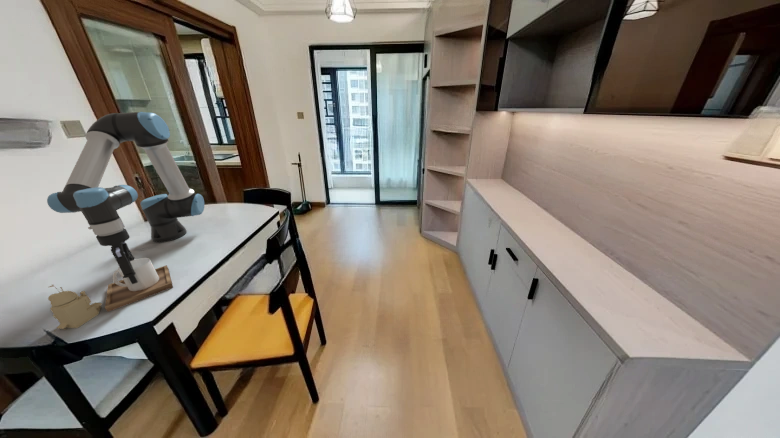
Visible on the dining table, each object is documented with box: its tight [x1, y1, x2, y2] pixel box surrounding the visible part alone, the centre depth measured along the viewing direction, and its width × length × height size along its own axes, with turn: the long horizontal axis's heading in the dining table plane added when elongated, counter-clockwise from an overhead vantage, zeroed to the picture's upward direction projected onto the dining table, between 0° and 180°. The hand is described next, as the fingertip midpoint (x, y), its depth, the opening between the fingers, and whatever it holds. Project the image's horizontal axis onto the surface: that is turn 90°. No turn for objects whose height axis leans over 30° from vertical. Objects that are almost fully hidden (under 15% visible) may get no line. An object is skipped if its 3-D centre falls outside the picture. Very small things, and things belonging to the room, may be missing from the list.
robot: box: [47, 284, 103, 332], centre depth 81 cm, size 10×8×15 cm
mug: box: [112, 257, 159, 291], centre depth 96 cm, size 12×9×9 cm
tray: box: [104, 265, 174, 313], centre depth 98 cm, size 18×18×2 cm
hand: (138, 283), depth 97 cm, fingers closed on mug, 9 cm apart
